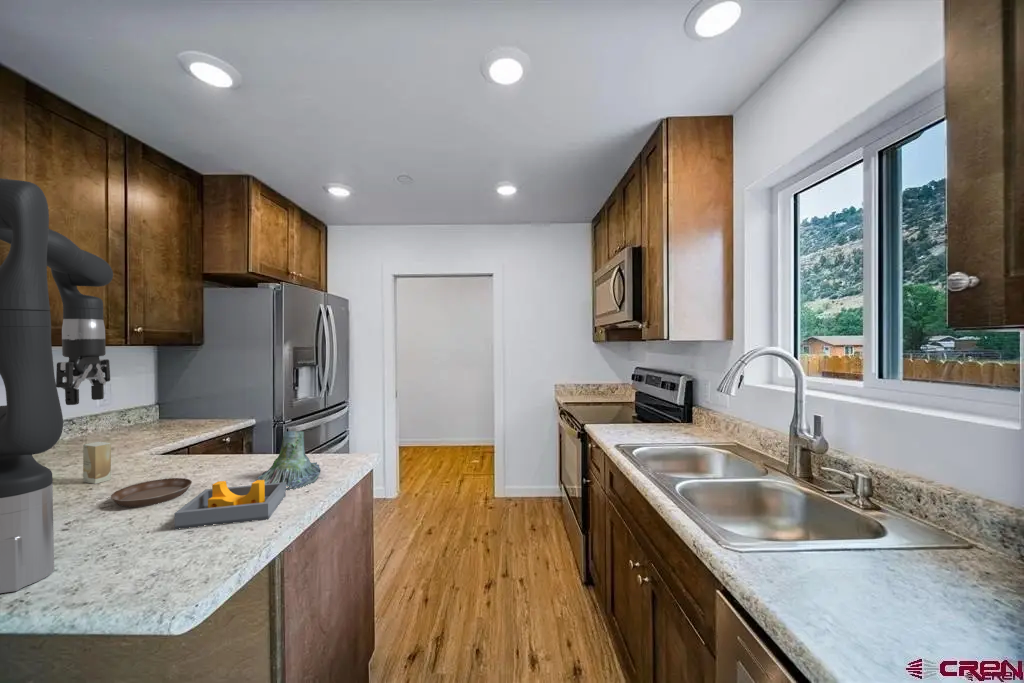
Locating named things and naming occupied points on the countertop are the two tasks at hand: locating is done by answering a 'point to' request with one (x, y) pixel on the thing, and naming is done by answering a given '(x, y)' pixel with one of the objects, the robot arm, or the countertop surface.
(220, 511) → the tray
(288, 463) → the tree stump
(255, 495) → the pipe clamp
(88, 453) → the skincare box
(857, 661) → the countertop surface
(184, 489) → the plant saucer
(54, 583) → the countertop surface
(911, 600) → the countertop surface
